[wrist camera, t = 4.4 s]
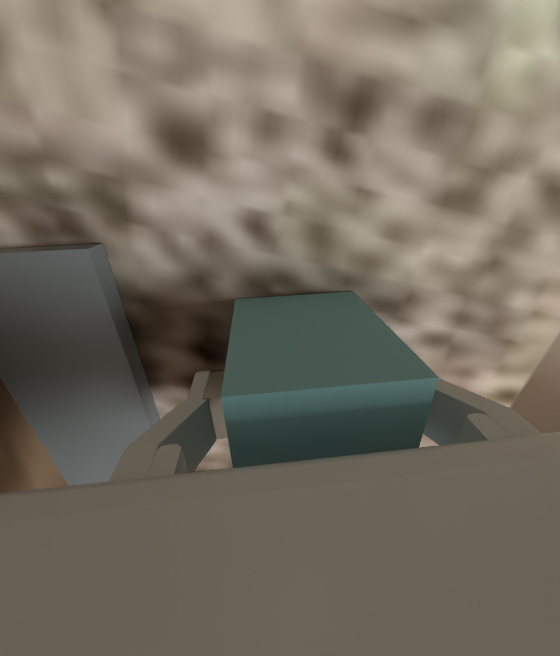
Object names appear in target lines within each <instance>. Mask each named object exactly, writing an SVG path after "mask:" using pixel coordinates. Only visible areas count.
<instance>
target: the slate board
mask: <svg viewBox="0 0 560 656" xmlns="http://www.w3.org/2000/svg"><path fill="white" fill-rule="evenodd" d="M0 379H1V380H2V382H3V383H4V385H5V387H6V388H7V390H8V391H9V393H10V394H11V396H12V398H13V399H14V401H15V402H16V404H17V406H18V407H19V409H20V410H21V412H22V413H23V415H24V417H25V418H26V420H27V421H28V423H29V425H30V426H31V428H32V429H33V431H34V432H35V434H36V436H37V437H38V439H39V440H40V442H41V443H42V445H43V447H44V448H45V450H46V451H47V453H48V455H49V456H50V458H51V459H52V461H53V462H54V464H55V466H56V467H57V469H58V470H59V472H60V474H61V475H62V477H63V478H64V480H65V481H66V483H67V485H68V486H73V485H82V484H91V483H101V482H109V480H110V478H111V476H112V474H113V472H114V470H115V468H116V466H117V464H118V462H119V460H120V458H121V456H122V454H123V452H124V450H125V448H126V447H127V446H128V445H130V444H131V443H132V442H133V441H135V440H136V439H137V438H138V437H139V436H141V435H142V434H143V433H144V432H146V431H147V430H148V429H149V428H150V427H152V426H153V425H154V424H155V423H157V422H158V421H159V420H160V418H159V415H158V412H157V409H156V406H155V403H154V400H153V397H152V394H151V390H150V387H149V384H148V381H147V378H146V375H145V372H144V369H143V366H142V363H141V360H140V357H139V354H138V350H137V347H136V344H135V341H134V338H133V335H132V332H131V329H130V326H129V323H128V320H127V317H126V314H125V311H124V307H123V304H122V301H121V298H120V295H119V292H118V289H117V286H116V283H115V280H114V277H113V274H112V271H111V268H110V264H109V261H108V258H107V255H106V252H105V249H104V246H103V243H101V244H82V245H63V246H44V247H24V248H5V249H0Z"/></svg>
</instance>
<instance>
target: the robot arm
mask: <svg viewBox="0 0 560 656" xmlns="http://www.w3.org/2000/svg"><path fill="white" fill-rule="evenodd" d="M224 372H225V370H212V371H199V372H196V373H195V376H194V379H193V382H192V385H191V389H190V392H189V395H188V398H187V401H182V402H181V403H180V404H179V405H177V406H176V407H175V408H174V409H173V410H171V411H170V412H169V413H168V414H166V415H165V416H164V417H163V418H162V419H160V420H159V421H158V422H157V423H155V424H154V425H153V426H152V427H150V428H149V429H148V430H147V431H146V432H144V433H143V434H142V435H141V436H139V437H138V438H137V439H136V440H135V441H133V442H132V443H131V444H130V445H128V446H127V447H126V448H125V450H124V452H123V454H122V456H121V458H120V460H119V462H118V464H117V466H116V468H115V470H114V472H113V474H112V476H111V478H110V480H109V482H101V483H91V484H82V485H73V486H64V487H54V488H45V489H36V490H27V491H18V492H8V493H0V656H560V432H558V433H549V434H541V433H540V432H539V431H538V430H536V429H535V428H534V427H533V426H532V425H530V424H529V423H528V422H527V421H526V420H525V419H523V418H522V417H521V416H520V415H519V414H517V413H516V412H515V411H514V410H513V409H511V408H509V407H506V406H504V405H501V404H499V403H497V402H494V401H492V400H489V399H487V398H485V397H482V396H480V395H478V394H475V393H473V392H470V391H468V390H466V389H463V388H461V387H458V386H456V385H454V384H451V383H449V382H447V381H444V380H442V379H438V383H437V386H436V390H435V393H434V396H433V400H432V403H431V407H430V410H429V414H428V417H427V421H426V424H425V428H424V431H423V434H424V435H426V436H427V437H429V438H430V439H431V440H433V441H434V442H435V443H437V444H438V445H440V446H430V447H421V448H412V449H402V450H393V451H384V452H374V453H365V454H356V455H347V456H338V457H329V458H320V459H311V460H302V461H293V462H284V463H275V464H265V465H256V466H247V467H238V468H229V469H220V470H211V471H201V472H194V470H195V469H196V467H197V466H198V465H199V463H200V462H201V461H202V459H203V458H204V457H205V455H206V454H207V452H208V451H209V450H210V448H211V447H212V446H213V444H214V443H215V442H216V439H222V438H228V436H227V430H226V424H225V419H224V413H223V407H222V402H221V392H222V385H223V379H224Z"/></svg>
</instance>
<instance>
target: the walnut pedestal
mask: <svg viewBox="0 0 560 656" xmlns="http://www.w3.org/2000/svg"><path fill="white" fill-rule="evenodd" d="M64 486H68V485H67V483H66V481H65V480H64V478H63V477H62V475H61V474H60V472H59V470H58V469H57V467H56V466H55V464H54V462H53V461H52V459H51V458H50V456H49V455H48V453H47V451H46V450H45V448H44V447H43V445H42V443H41V442H40V440H39V439H38V437H37V436H36V434H35V432H34V431H33V429H32V428H31V426H30V425H29V423H28V421H27V420H26V418H25V417H24V415H23V413H22V412H21V410H20V409H19V407H18V406H17V404H16V402H15V401H14V399H13V398H12V396H11V394H10V393H9V391H8V390H7V388H6V387H5V385H4V383H3V382H2V380H1V379H0V493H8V492H18V491H27V490H36V489H45V488H54V487H64Z"/></svg>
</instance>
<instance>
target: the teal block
mask: <svg viewBox="0 0 560 656" xmlns="http://www.w3.org/2000/svg"><path fill="white" fill-rule="evenodd" d="M438 379H439V377H438V376H437V375H436V374H435V373H434V372H433V371H432V370H431V369H430V368H429V367H428V366H427V365H426V364H425V363H424V362H423V361H422V360H421V359H420V358H419V357H418V356H417V355H416V354H415V353H414V352H413V351H412V350H411V349H410V348H409V347H408V346H407V345H406V344H405V343H404V342H403V341H402V340H401V339H400V338H399V337H398V336H397V335H396V334H395V333H394V332H393V331H392V330H391V329H390V328H389V327H388V326H387V325H386V324H385V323H384V322H383V321H382V320H381V319H380V318H379V317H378V316H377V315H376V314H375V313H374V312H373V311H372V310H371V309H370V308H369V307H368V306H367V305H366V304H365V303H364V302H363V301H362V300H361V299H360V298H359V297H358V296H357V295H356V294H355V293H354V292H353V291H350V292H335V293H320V294H305V295H290V296H275V297H261V298H246V299H235V304H234V311H233V318H232V325H231V331H230V338H229V345H228V352H227V358H226V365H225V372H224V379H223V385H222V392H221V402H222V407H223V413H224V419H225V424H226V430H227V436H228V441H229V447H230V453H231V458H232V464H233V468H238V467H247V466H256V465H265V464H275V463H284V462H293V461H302V460H311V459H320V458H329V457H338V456H347V455H356V454H365V453H374V452H384V451H393V450H402V449H412V448H419V445H420V441H421V438H422V435H423V431H424V428H425V424H426V421H427V417H428V414H429V410H430V407H431V403H432V400H433V396H434V393H435V390H436V386H437V383H438Z"/></svg>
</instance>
